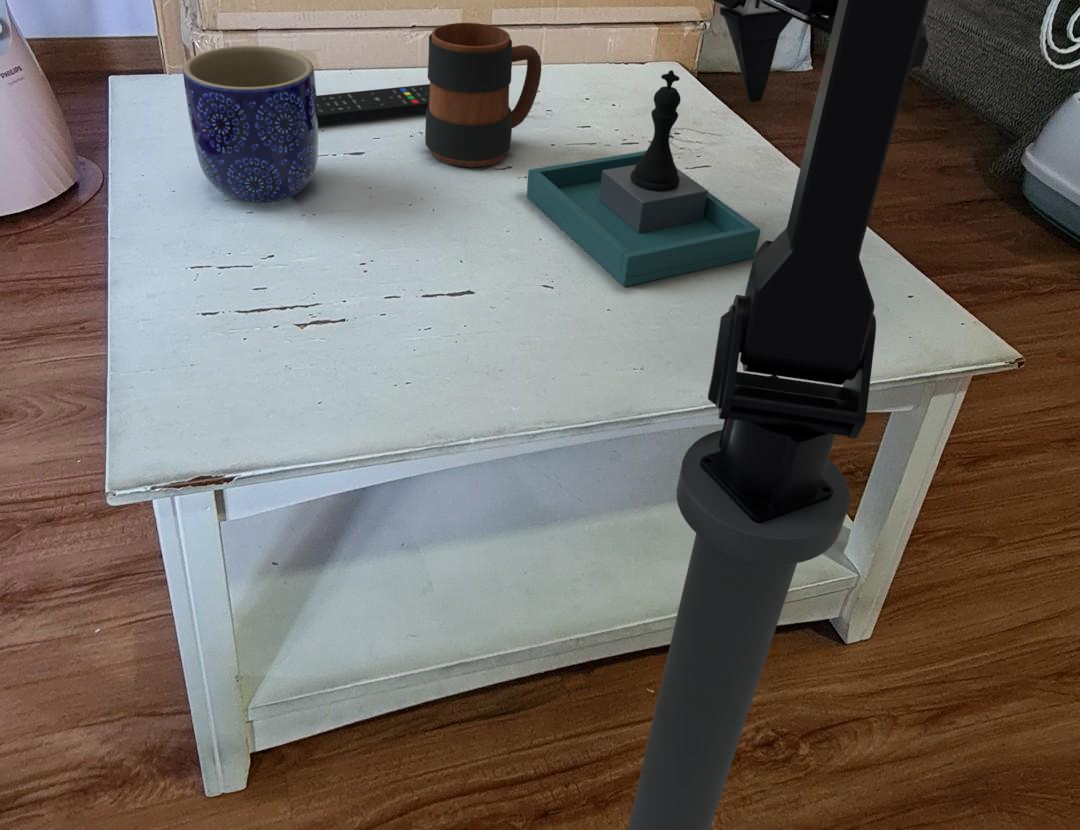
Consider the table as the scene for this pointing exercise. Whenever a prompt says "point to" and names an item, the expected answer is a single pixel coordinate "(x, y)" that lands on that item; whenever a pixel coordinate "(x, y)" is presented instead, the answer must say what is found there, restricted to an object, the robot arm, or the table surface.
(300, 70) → the planter
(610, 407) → the table surface
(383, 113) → the remote control
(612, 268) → the tray
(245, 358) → the table surface
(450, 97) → the mug
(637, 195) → the block
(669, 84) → the chess piece
